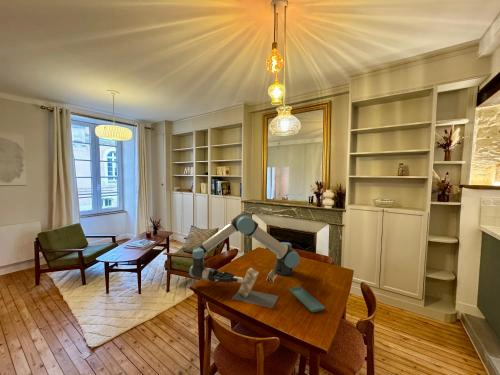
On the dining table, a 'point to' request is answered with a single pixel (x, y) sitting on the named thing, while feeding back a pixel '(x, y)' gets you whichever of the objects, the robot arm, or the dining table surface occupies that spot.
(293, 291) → the shallow long dish
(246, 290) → the birch block
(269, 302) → the rubber mat
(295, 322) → the dining table surface
